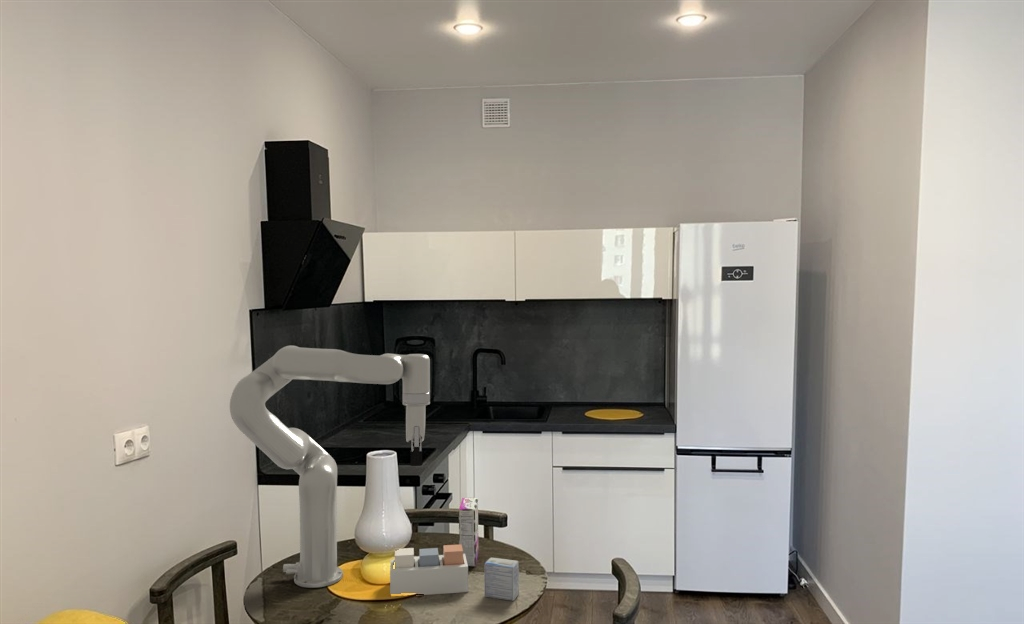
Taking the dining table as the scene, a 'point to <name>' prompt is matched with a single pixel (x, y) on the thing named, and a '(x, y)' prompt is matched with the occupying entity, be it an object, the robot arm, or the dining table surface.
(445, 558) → the terracotta key
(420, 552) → the slate key
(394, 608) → the dining table surface
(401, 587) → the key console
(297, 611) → the dining table surface
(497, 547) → the dining table surface
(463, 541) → the candy bar box
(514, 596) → the medicine box
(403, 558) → the ivory key
